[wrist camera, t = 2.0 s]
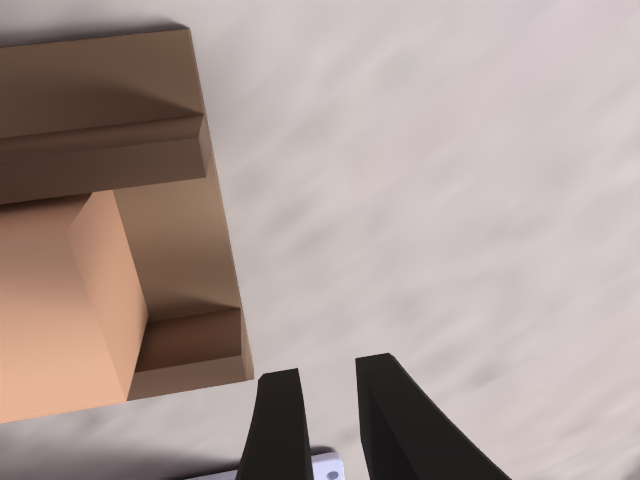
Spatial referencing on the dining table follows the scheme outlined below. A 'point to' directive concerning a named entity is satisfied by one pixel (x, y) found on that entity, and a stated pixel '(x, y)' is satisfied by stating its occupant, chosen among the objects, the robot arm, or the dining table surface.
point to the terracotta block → (66, 306)
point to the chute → (135, 186)
